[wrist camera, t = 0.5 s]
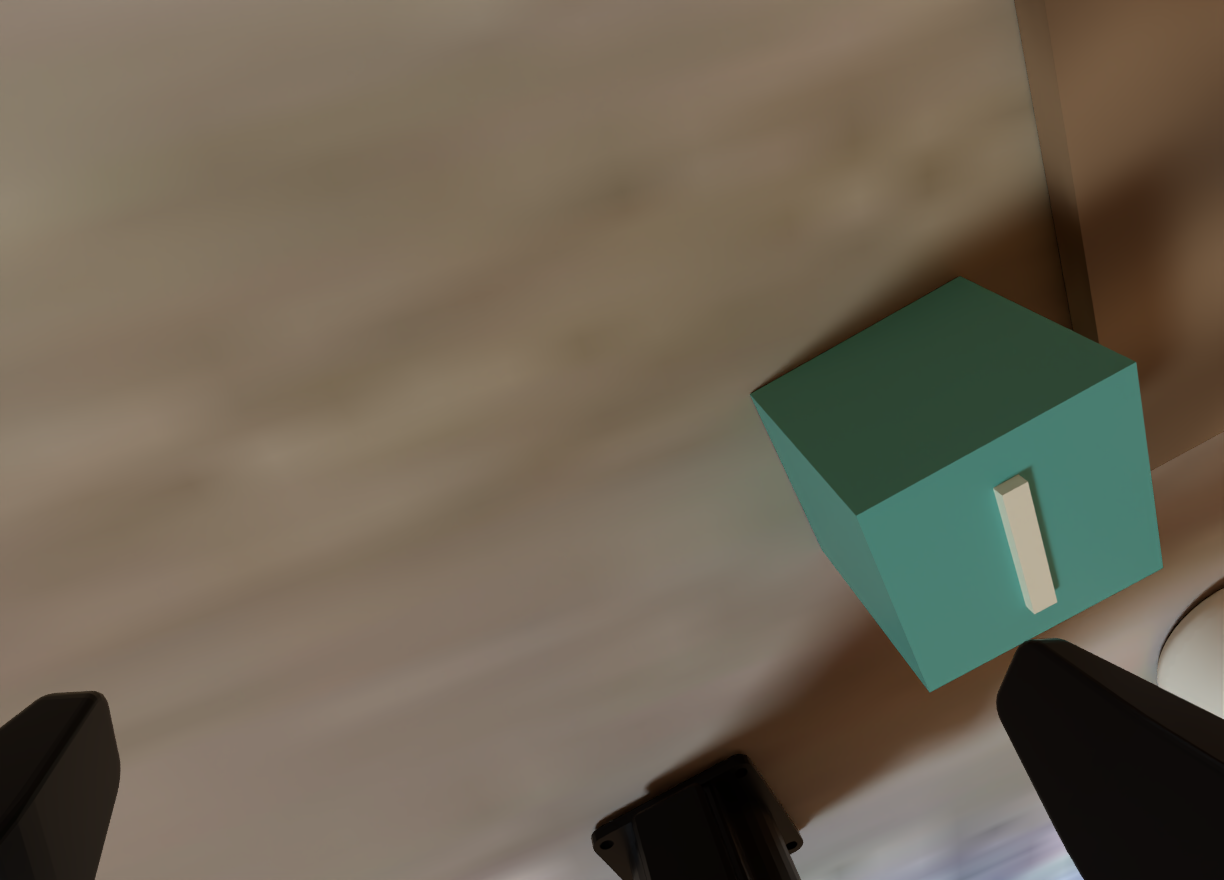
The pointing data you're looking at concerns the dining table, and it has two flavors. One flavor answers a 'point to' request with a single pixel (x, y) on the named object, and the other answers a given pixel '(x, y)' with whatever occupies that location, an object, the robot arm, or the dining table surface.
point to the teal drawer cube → (969, 473)
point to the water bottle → (1197, 657)
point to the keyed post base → (1139, 192)
